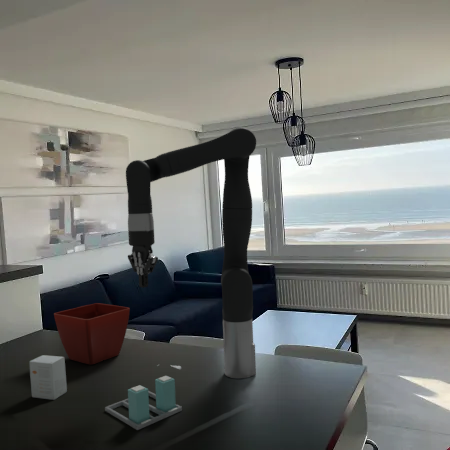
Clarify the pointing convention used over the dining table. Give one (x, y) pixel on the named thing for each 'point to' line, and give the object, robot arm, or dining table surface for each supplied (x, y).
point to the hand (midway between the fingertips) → (143, 286)
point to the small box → (48, 377)
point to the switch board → (152, 419)
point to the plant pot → (92, 331)
